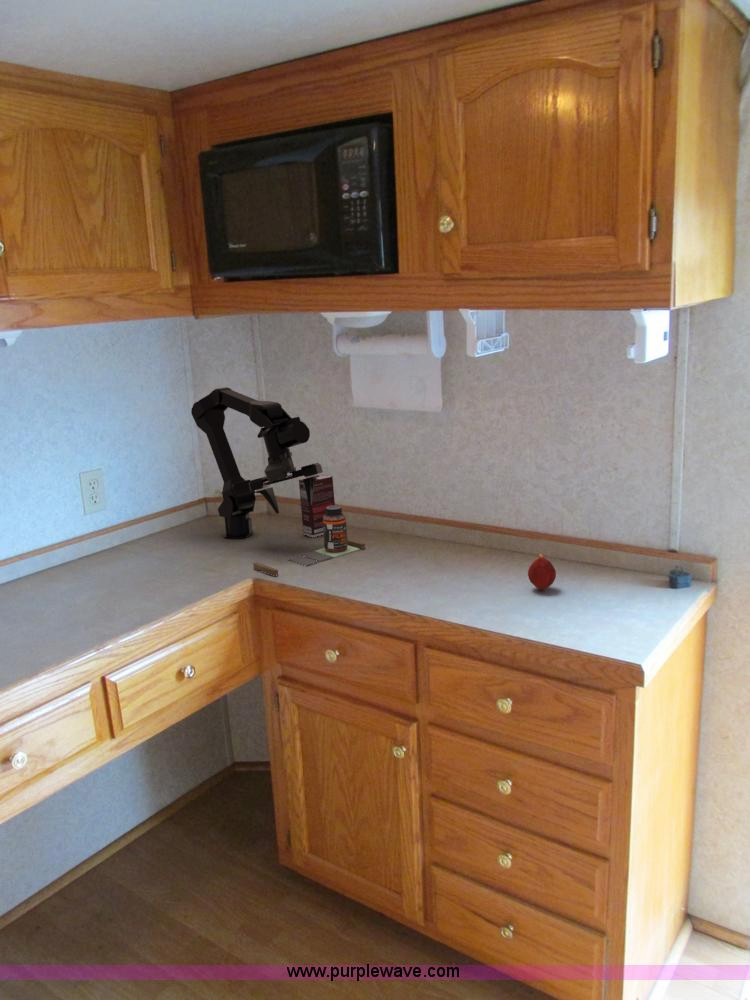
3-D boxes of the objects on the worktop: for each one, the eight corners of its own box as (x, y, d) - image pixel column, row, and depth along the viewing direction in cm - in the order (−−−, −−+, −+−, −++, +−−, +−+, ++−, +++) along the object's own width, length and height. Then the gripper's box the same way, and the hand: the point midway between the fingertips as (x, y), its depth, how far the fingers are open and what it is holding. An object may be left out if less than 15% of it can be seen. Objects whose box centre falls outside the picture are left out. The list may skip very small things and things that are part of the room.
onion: (561, 589, 177) (561, 553, 175) (545, 596, 173) (545, 560, 171) (538, 583, 181) (538, 548, 179) (522, 591, 177) (522, 555, 175)
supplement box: (327, 528, 234) (323, 473, 230) (337, 531, 230) (333, 476, 227) (302, 535, 229) (297, 479, 225) (312, 538, 225) (307, 481, 221)
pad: (333, 557, 207) (333, 556, 207) (314, 551, 213) (314, 550, 213) (359, 549, 213) (359, 548, 213) (340, 544, 219) (340, 543, 218)
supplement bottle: (334, 554, 209) (331, 511, 206) (320, 550, 213) (316, 507, 211) (352, 549, 213) (349, 506, 210) (338, 544, 217) (335, 502, 214)
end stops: (274, 577, 195) (274, 570, 195) (253, 569, 202) (253, 563, 201) (365, 549, 213) (364, 543, 213) (343, 542, 220) (342, 537, 219)
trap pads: (306, 566, 202) (306, 565, 202) (287, 559, 208) (287, 558, 208) (332, 558, 207) (332, 557, 207) (312, 552, 213) (312, 551, 213)
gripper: (234, 461, 208) (250, 521, 209) (303, 443, 204) (319, 504, 204) (249, 459, 219) (265, 516, 219) (315, 441, 215) (330, 499, 215)
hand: (294, 509), depth 214 cm, fingers open, 9 cm apart
